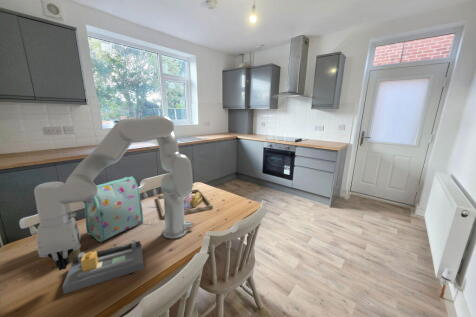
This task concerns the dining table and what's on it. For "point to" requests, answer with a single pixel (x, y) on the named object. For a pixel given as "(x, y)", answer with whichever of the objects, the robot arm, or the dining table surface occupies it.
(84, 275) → the grey slider switch base
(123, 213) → the lunch bag
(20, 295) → the dining table surface
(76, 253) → the cork
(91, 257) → the breaker toggle
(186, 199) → the spice collection
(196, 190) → the tray
